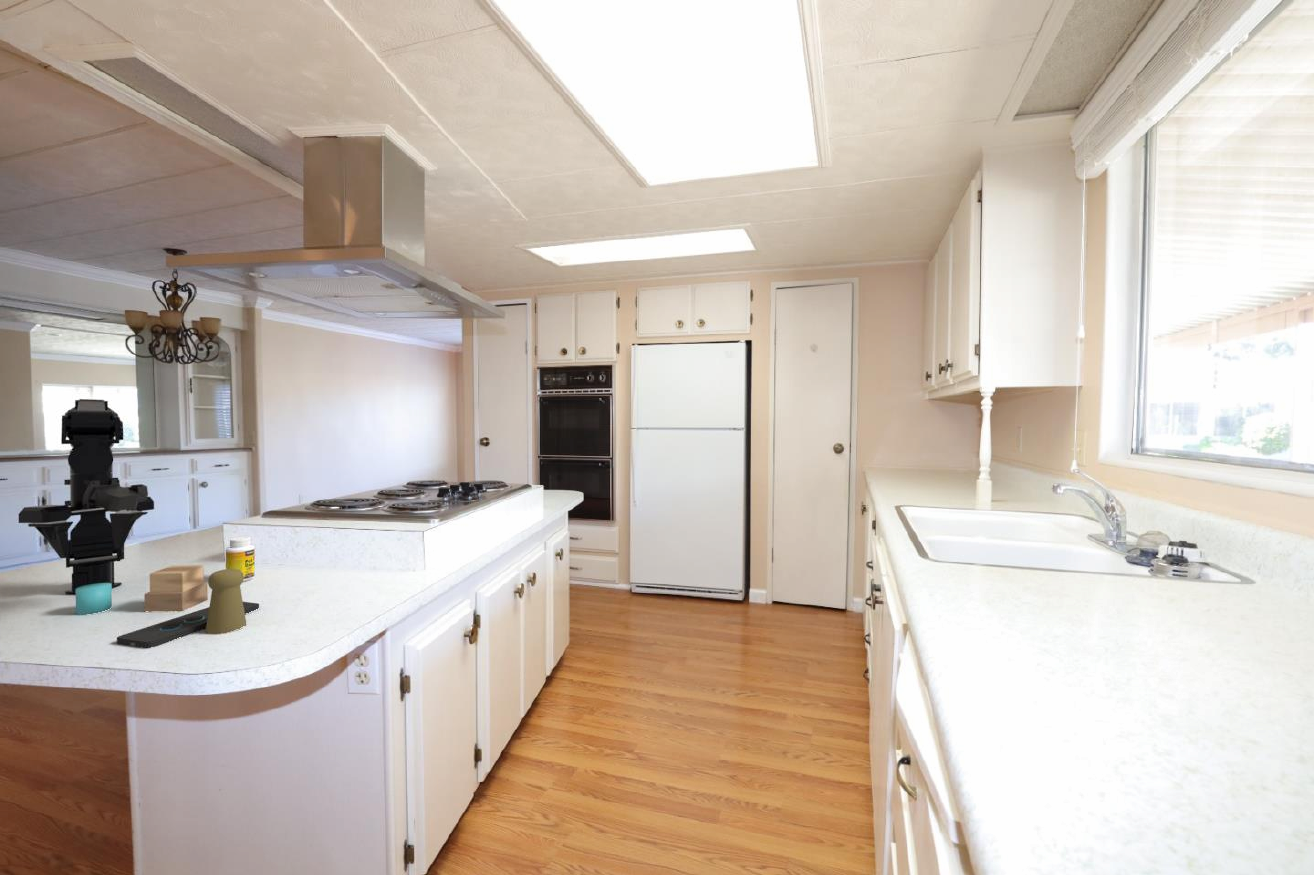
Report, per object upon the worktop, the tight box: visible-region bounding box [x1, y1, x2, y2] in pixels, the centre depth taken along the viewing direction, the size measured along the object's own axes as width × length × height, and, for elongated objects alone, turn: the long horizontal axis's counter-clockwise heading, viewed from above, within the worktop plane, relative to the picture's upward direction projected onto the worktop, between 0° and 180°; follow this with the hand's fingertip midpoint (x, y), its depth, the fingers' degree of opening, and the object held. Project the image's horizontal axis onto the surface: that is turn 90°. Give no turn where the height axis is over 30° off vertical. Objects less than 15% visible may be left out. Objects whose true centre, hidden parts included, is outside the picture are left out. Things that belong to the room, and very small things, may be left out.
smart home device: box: [116, 601, 260, 649], centre depth 101 cm, size 8×2×20 cm
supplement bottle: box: [225, 536, 256, 583], centre depth 128 cm, size 6×6×10 cm
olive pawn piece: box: [205, 568, 247, 635], centre depth 99 cm, size 6×6×11 cm
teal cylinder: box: [75, 583, 113, 616], centre depth 107 cm, size 5×5×5 cm
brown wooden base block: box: [143, 582, 209, 613], centre depth 111 cm, size 7×7×4 cm
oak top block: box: [149, 564, 205, 593], centre depth 110 cm, size 6×6×4 cm
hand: (92, 552), depth 104 cm, fingers open, 9 cm apart
